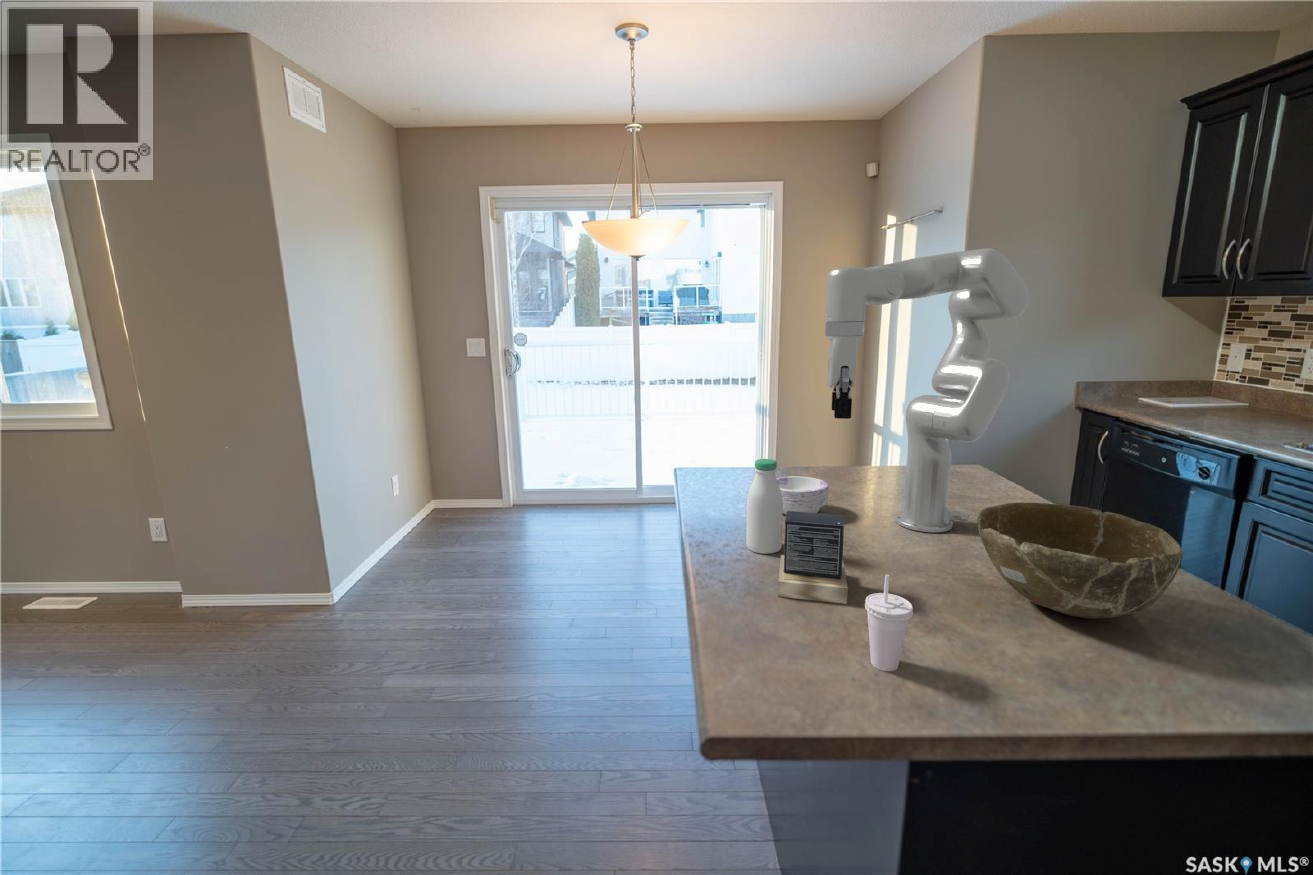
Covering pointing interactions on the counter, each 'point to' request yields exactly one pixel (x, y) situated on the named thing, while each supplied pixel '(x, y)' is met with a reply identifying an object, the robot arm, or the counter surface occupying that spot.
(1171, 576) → the bowl
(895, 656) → the smoothie
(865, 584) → the counter surface
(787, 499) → the paper bowls
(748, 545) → the milk bottle
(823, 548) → the small box
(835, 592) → the base
